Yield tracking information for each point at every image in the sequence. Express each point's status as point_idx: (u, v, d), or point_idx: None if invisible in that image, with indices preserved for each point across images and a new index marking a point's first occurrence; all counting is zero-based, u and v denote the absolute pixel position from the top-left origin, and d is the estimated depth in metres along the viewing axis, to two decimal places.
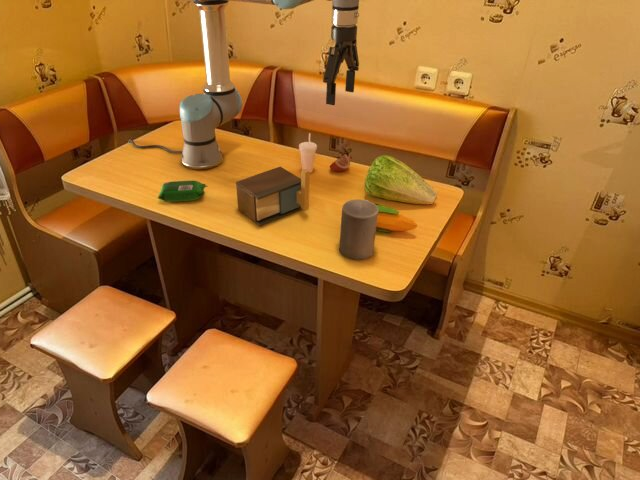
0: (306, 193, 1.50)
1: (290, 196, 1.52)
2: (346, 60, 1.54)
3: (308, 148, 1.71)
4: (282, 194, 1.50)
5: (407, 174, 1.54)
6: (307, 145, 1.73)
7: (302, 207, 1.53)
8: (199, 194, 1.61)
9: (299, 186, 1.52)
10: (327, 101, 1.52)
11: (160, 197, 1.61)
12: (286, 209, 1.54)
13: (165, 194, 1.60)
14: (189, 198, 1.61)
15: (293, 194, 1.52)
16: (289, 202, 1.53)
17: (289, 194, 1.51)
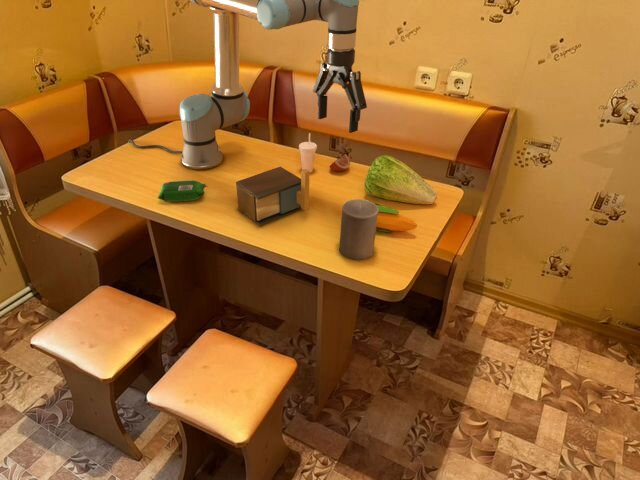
0: (306, 193, 1.50)
1: (290, 196, 1.52)
2: (327, 86, 1.43)
3: (308, 148, 1.71)
4: (282, 194, 1.50)
5: (407, 174, 1.54)
6: (307, 145, 1.73)
7: (302, 207, 1.53)
8: (199, 194, 1.61)
9: (299, 186, 1.52)
10: (352, 129, 1.41)
11: (160, 197, 1.61)
12: (286, 209, 1.54)
13: (165, 194, 1.60)
14: (189, 198, 1.61)
15: (293, 194, 1.52)
16: (289, 202, 1.53)
17: (289, 194, 1.51)
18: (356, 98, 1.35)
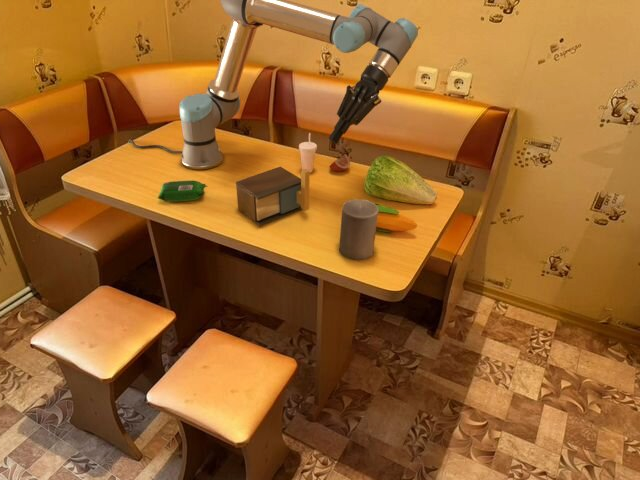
0: (306, 193, 1.50)
1: (290, 196, 1.52)
2: (352, 105, 1.45)
3: (308, 148, 1.71)
4: (282, 194, 1.50)
5: (407, 174, 1.54)
6: (307, 145, 1.73)
7: (302, 207, 1.53)
8: (199, 194, 1.61)
9: (299, 186, 1.52)
10: (334, 137, 1.45)
11: (160, 197, 1.61)
12: (286, 209, 1.54)
13: (165, 194, 1.60)
14: (189, 198, 1.61)
15: (293, 194, 1.52)
16: (289, 202, 1.53)
17: (289, 194, 1.51)
18: (359, 112, 1.42)
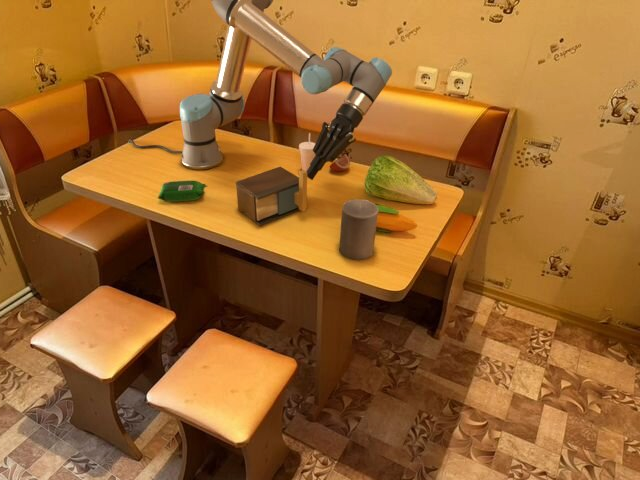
0: (304, 194, 1.49)
1: (288, 197, 1.52)
2: (327, 142, 1.47)
3: (308, 148, 1.71)
4: (280, 195, 1.49)
5: (407, 174, 1.54)
6: (307, 145, 1.73)
7: (300, 208, 1.53)
8: (199, 194, 1.61)
9: (297, 187, 1.52)
10: (310, 174, 1.47)
11: (160, 197, 1.61)
12: (284, 210, 1.53)
13: (165, 194, 1.60)
14: (189, 198, 1.61)
15: (291, 195, 1.52)
16: (287, 203, 1.53)
17: (287, 195, 1.51)
18: (334, 150, 1.44)
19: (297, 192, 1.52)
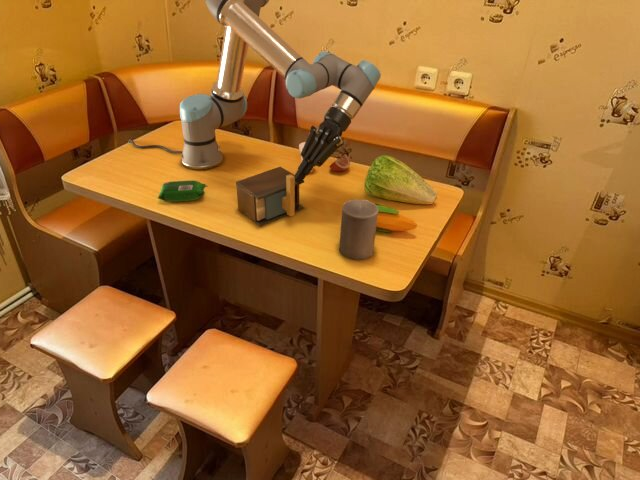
0: (292, 199, 1.47)
1: (275, 202, 1.50)
2: (315, 146, 1.45)
3: None
4: (267, 200, 1.47)
5: (407, 174, 1.54)
6: None
7: (288, 213, 1.51)
8: (199, 194, 1.61)
9: (285, 191, 1.50)
10: (297, 179, 1.45)
11: (160, 197, 1.61)
12: (272, 215, 1.51)
13: (165, 194, 1.60)
14: (189, 198, 1.61)
15: (279, 200, 1.50)
16: (275, 208, 1.51)
17: (274, 200, 1.49)
18: (321, 154, 1.42)
19: (285, 197, 1.50)
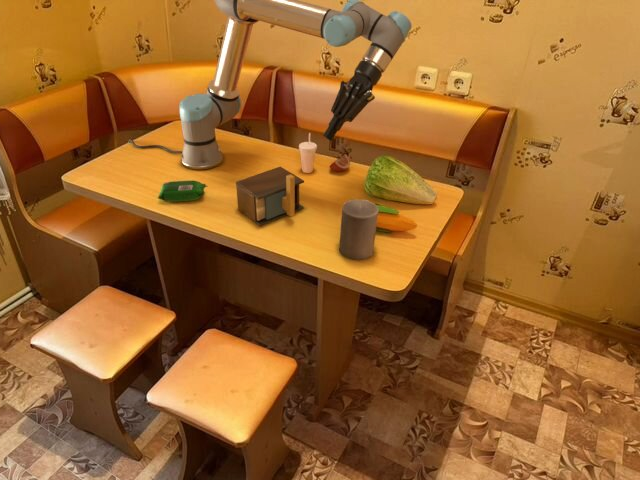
0: (291, 199, 1.47)
1: (275, 202, 1.50)
2: (346, 101, 1.45)
3: (308, 148, 1.71)
4: (267, 200, 1.47)
5: (407, 174, 1.54)
6: (307, 145, 1.73)
7: (288, 213, 1.51)
8: (199, 194, 1.61)
9: (285, 191, 1.50)
10: (328, 135, 1.46)
11: (160, 197, 1.61)
12: (272, 215, 1.51)
13: (165, 194, 1.60)
14: (189, 198, 1.61)
15: (279, 200, 1.50)
16: (275, 208, 1.51)
17: (274, 200, 1.49)
18: (352, 109, 1.42)
19: (285, 197, 1.50)
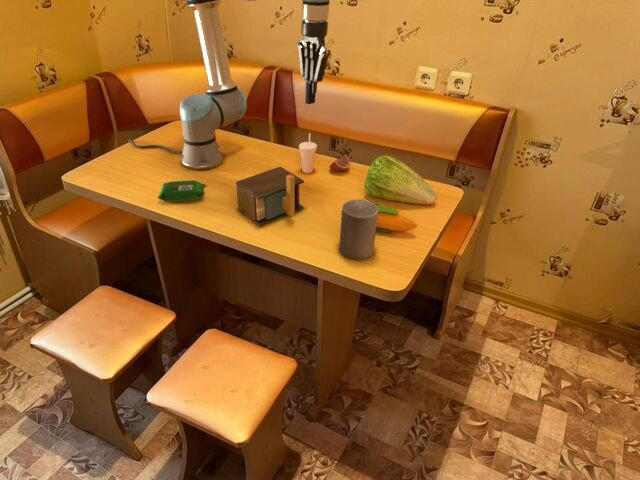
0: (291, 199, 1.47)
1: (275, 202, 1.50)
2: (309, 64, 1.48)
3: (308, 148, 1.71)
4: (267, 200, 1.47)
5: (407, 174, 1.54)
6: (307, 145, 1.73)
7: (288, 213, 1.51)
8: (199, 194, 1.61)
9: (285, 191, 1.50)
10: (309, 101, 1.54)
11: (160, 197, 1.61)
12: (272, 215, 1.51)
13: (165, 194, 1.60)
14: (189, 198, 1.61)
15: (279, 200, 1.50)
16: (275, 208, 1.51)
17: (274, 200, 1.49)
18: (316, 72, 1.46)
19: (285, 197, 1.50)
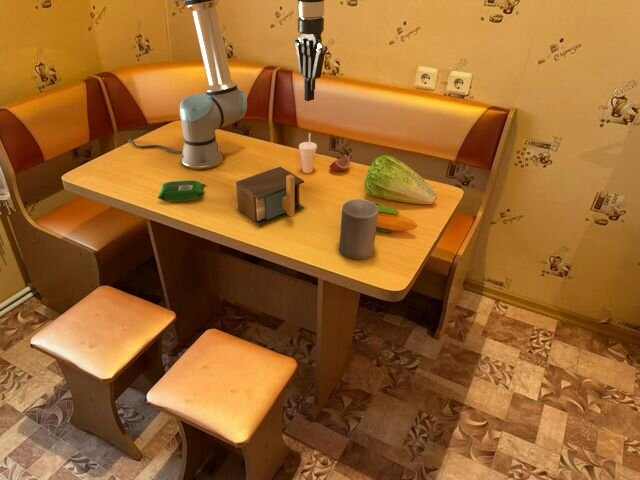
0: (291, 199, 1.47)
1: (275, 202, 1.50)
2: (306, 61, 1.48)
3: (308, 148, 1.71)
4: (267, 200, 1.47)
5: (407, 174, 1.54)
6: (307, 145, 1.73)
7: (288, 213, 1.51)
8: (199, 194, 1.61)
9: (285, 191, 1.50)
10: (308, 98, 1.54)
11: (160, 197, 1.61)
12: (272, 215, 1.51)
13: (165, 194, 1.60)
14: (189, 198, 1.61)
15: (279, 200, 1.50)
16: (275, 208, 1.51)
17: (274, 200, 1.49)
18: (314, 68, 1.46)
19: (285, 197, 1.50)
